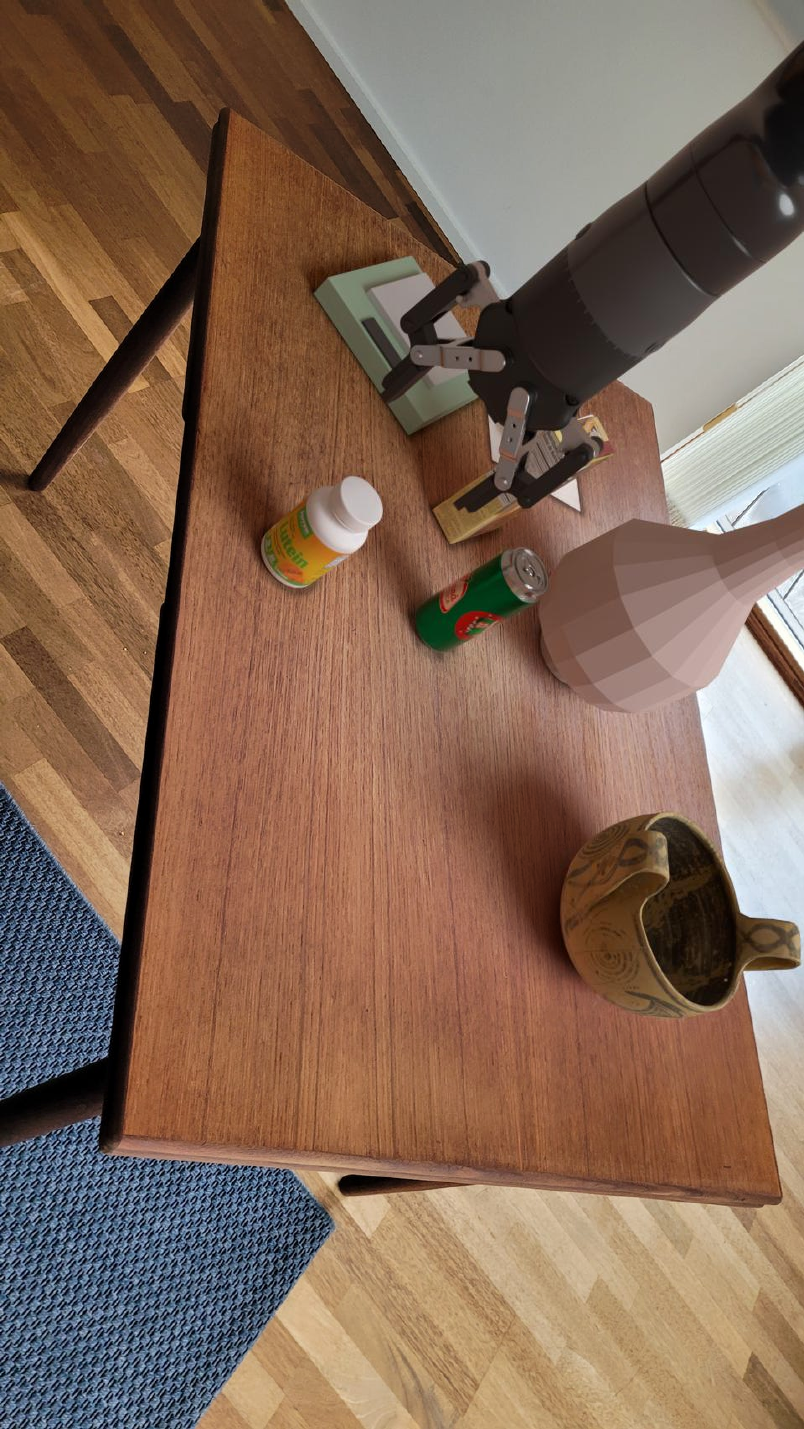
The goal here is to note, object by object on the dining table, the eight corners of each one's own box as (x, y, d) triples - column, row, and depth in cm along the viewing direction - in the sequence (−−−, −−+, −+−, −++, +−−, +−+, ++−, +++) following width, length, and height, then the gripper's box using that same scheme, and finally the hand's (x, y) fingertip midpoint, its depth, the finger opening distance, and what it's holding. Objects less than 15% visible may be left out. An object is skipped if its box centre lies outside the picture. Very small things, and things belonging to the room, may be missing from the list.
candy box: (478, 494, 94) (596, 412, 83) (497, 530, 94) (617, 453, 83) (429, 509, 87) (550, 422, 77) (450, 548, 88) (573, 466, 77)
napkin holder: (570, 436, 111) (607, 410, 108) (581, 512, 107) (620, 487, 103) (484, 380, 102) (521, 349, 98) (492, 461, 98) (531, 432, 94)
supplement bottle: (246, 539, 71) (319, 476, 64) (290, 521, 74) (363, 459, 68) (284, 598, 71) (360, 541, 64) (326, 577, 75) (402, 521, 68)
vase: (584, 582, 102) (847, 439, 81) (633, 731, 98) (921, 619, 78) (482, 571, 90) (760, 399, 69) (533, 739, 86) (843, 610, 65)
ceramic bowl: (492, 981, 72) (650, 953, 62) (512, 795, 81) (652, 743, 71) (662, 1060, 83) (821, 1047, 72) (662, 887, 92) (803, 854, 82)
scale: (312, 293, 87) (332, 271, 85) (397, 269, 98) (416, 249, 96) (408, 435, 89) (429, 417, 87) (479, 396, 101) (500, 379, 98)
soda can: (424, 593, 83) (521, 531, 74) (459, 633, 84) (558, 577, 76) (402, 623, 79) (501, 562, 71) (439, 665, 81) (540, 610, 72)
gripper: (702, 388, 54) (506, 519, 65) (571, 175, 52) (391, 349, 63) (664, 421, 49) (458, 558, 60) (516, 186, 47) (331, 373, 58)
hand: (424, 450), depth 61 cm, fingers open, 8 cm apart
